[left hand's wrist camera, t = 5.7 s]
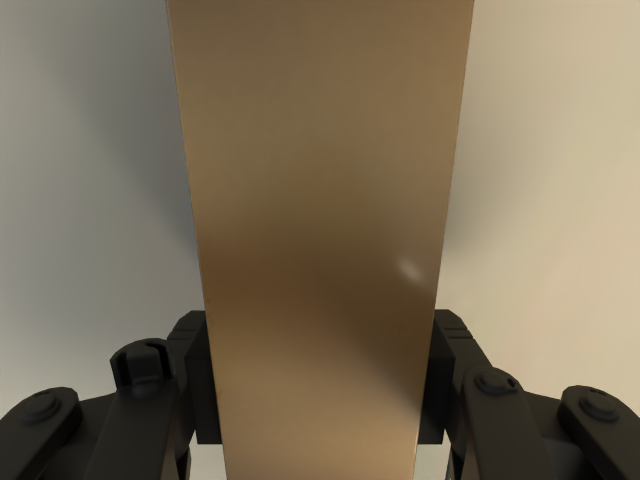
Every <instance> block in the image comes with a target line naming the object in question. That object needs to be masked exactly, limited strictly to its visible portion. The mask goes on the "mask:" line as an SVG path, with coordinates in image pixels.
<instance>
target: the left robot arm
mask: <svg viewBox="0 0 640 480" xmlns="http://www.w3.org/2000/svg"><path fill="white" fill-rule="evenodd" d="M110 364H111V368H112V372H113V376H114V380H115V384H116V388H117V391H116V392H115V393H112V394H108V395H105V396H100V397H96V398H92V399H87V400H83V401H79V398H78V394H77V392H75V391H74V390H73V389H72V388H67V387H57V388H50V389H47V390H44V391H40V392H38V393H35V394H33V395H31V396H30V397H28V398H26V399H24V400H22V401H21V402H20V403H18V404H17V405H16V406H15V407H13V408H12V409H11V410H10V411H9V412H8V413H7V414H6V415H5V416H4V417H3V418H2V419H1V420H0V480H189V478H190V467H191V454H190V448H189V444H190V441H191V438H192V436H193V433H194V431H196V437H197V443H198V444H222V437H221V429H220V422H219V414H218V406H217V398H216V391H215V383H214V375H213V367H212V359H211V352H210V344H209V336H208V328H207V321H206V313H205V311H190V312H189V313H187V314H186V315H185V316H183V317H182V318H180V319H179V321H178V322H177V324H176V325H175V327H174V328H173V331H172V332H171V333H170V334H169V336H168V337H167V340H163V339H160V338H147V339H143V340H138V341H135V342H133V343H130V344H128V345H126V346H124V347H122V348H121V349H120V350H118V351H117V352H116V353H115V354H114V355H113V356H112V358H111V359H110ZM444 429H445V430H446V432H447V435H448V437H449V440H450V442H451V448H450V454H449V460H448V465H447V471H446V478H445V480H450V477H451V480H640V418H639V417H638V416H637V415H636V414H635V413H634V412H633V411H632V410H631V409H630V408H629V407H628V406H626V405H625V404H624V403H623V402H621V401H620V400H619V399H617V398H616V397H614V396H612V395H610V394H608V393H606V392H604V391H601V390H599V389H595V388H592V387H588V386H580V385H576V386H570V387H568V388H566V389H565V390H564V391H563V393H562V397H561V400H559V399H555V398H550V397H546V396H542V395H537V394H533V393H530V392H526V391H524V390H523V388H522V386H521V385H520V383H519V382H518V381H517V380H516V379H515V378H514V377H512V376H511V375H510V374H508V373H506V372H504V371H502V370H500V369H498V368H494V367H493V366H492V365H491V363H490V362H489V360H488V359H487V357H486V356H485V354H484V353H483V351H482V350H481V348H480V347H479V345H478V344H477V342H476V341H475V339H473V336H472V335H471V333H470V332H469V330H467V327H466V326H465V324H464V322H463V321H462V319H461V318H460V317H458V316H457V315H456V314H454V313H453V312H451V311H450V310H449V309H435V310H434V318H433V326H432V334H431V342H430V349H429V357H428V365H427V373H426V381H425V388H424V396H423V404H422V412H421V420H420V427H419V435H418V443H417V444H442V442H443V436H444Z"/></svg>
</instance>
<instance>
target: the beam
mask: <svg viewBox="0 0 640 480" xmlns="http://www.w3.org/2000/svg"><path fill="white" fill-rule="evenodd" d="M165 1H166V9H167V17H168V25H169V33H170V40H171V48H172V56H173V64H174V71H175V79H176V87H177V95H178V103H179V110H180V118H181V126H182V134H183V141H184V149H185V157H186V165H187V173H188V180H189V188H190V196H191V204H192V212H193V219H194V227H195V235H196V243H197V250H198V258H199V266H200V274H201V282H202V289H203V297H204V305H205V313H206V321H207V328H208V336H209V344H210V352H211V359H212V367H213V375H214V383H215V391H216V398H217V406H218V414H219V422H220V429H221V437H222V445H223V453H224V461H225V468H226V476H227V480H413V474H414V466H415V459H416V451H417V443H418V435H419V427H420V420H421V412H422V404H423V396H424V388H425V381H426V373H427V365H428V357H429V349H430V342H431V334H432V326H433V318H434V310H435V303H436V295H437V287H438V279H439V272H440V264H441V256H442V248H443V240H444V233H445V225H446V217H447V209H448V201H449V194H450V186H451V178H452V170H453V162H454V155H455V147H456V139H457V131H458V124H459V116H460V108H461V100H462V92H463V85H464V77H465V69H466V61H467V53H468V46H469V38H470V30H471V22H472V14H473V7H474V0H165Z"/></svg>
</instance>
